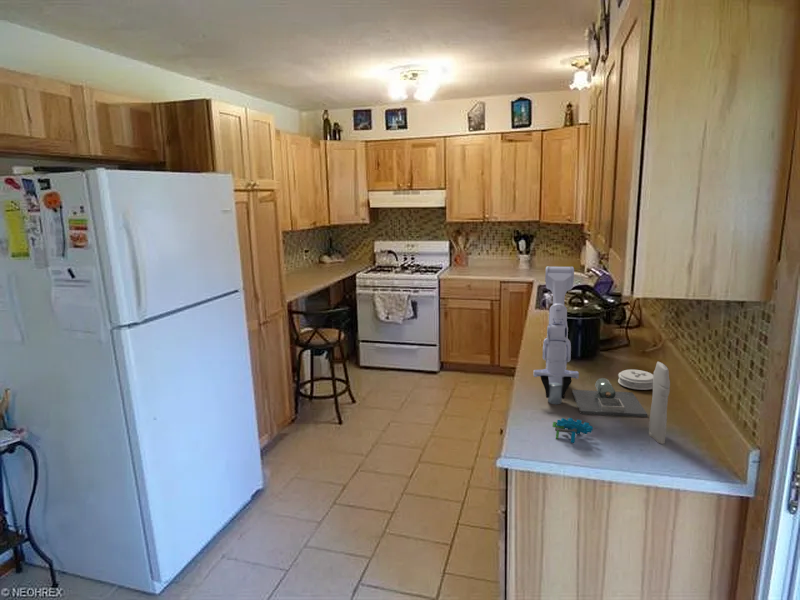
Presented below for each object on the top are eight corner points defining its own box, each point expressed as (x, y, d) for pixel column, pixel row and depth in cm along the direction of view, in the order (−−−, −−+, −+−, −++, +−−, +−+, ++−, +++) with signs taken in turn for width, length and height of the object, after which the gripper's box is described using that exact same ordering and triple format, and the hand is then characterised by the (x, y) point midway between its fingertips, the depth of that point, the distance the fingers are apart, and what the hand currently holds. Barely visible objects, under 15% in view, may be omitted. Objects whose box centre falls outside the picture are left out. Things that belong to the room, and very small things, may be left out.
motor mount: (572, 392, 178) (572, 376, 177) (632, 395, 174) (633, 378, 173) (580, 413, 161) (581, 396, 159) (647, 417, 157) (648, 399, 156)
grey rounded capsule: (547, 398, 173) (547, 382, 172) (560, 399, 172) (561, 382, 171) (548, 403, 169) (549, 387, 168) (562, 404, 168) (563, 387, 167)
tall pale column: (670, 445, 139) (677, 370, 135) (655, 444, 140) (661, 370, 135) (658, 428, 149) (664, 358, 145) (643, 427, 150) (649, 357, 146)
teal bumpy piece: (596, 431, 145) (588, 417, 138) (594, 451, 142) (586, 437, 136) (558, 427, 151) (549, 414, 145) (555, 446, 148) (546, 433, 142)
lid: (621, 377, 192) (622, 364, 191) (658, 383, 185) (659, 370, 184) (614, 387, 182) (615, 374, 181) (652, 394, 175) (654, 381, 174)
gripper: (535, 362, 165) (533, 400, 168) (580, 363, 162) (579, 402, 165) (533, 355, 172) (532, 392, 174) (577, 356, 169) (575, 394, 172)
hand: (554, 397), depth 170 cm, fingers closed on grey rounded capsule, 4 cm apart
